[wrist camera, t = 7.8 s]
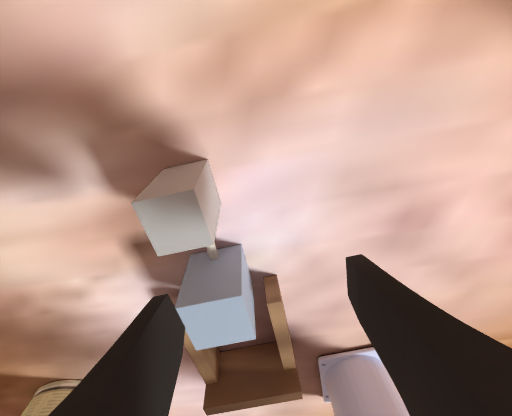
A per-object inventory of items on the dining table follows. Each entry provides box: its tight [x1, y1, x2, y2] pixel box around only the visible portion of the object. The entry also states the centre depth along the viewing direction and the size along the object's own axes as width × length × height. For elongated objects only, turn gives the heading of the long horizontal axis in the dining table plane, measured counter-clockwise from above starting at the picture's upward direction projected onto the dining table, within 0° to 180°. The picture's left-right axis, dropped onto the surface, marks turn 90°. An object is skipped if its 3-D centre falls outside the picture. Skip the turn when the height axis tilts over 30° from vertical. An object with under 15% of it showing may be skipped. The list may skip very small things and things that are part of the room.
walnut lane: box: [184, 275, 303, 415], centre depth 22 cm, size 10×9×5 cm
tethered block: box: [131, 159, 256, 350], centre depth 17 cm, size 12×4×6 cm, turn 12°
